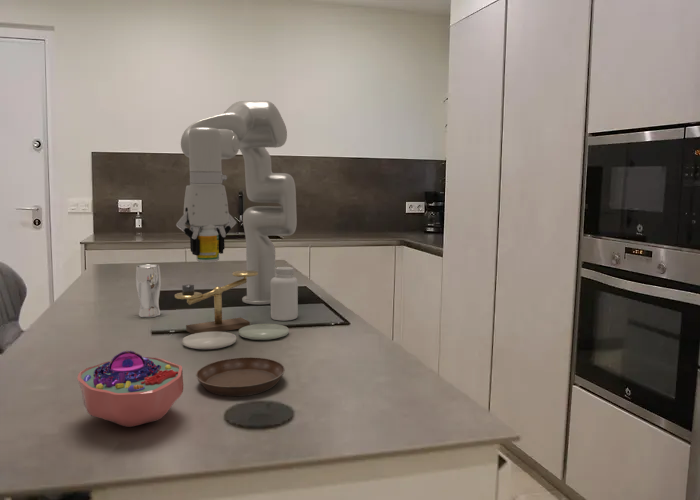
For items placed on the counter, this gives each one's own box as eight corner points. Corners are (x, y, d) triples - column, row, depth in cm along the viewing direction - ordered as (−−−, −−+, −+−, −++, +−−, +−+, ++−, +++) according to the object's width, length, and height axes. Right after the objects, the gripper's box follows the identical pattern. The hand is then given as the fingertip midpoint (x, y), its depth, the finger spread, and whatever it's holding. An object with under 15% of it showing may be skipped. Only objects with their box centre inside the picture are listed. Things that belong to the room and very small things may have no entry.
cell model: (84, 453, 91) (80, 381, 90) (76, 407, 109) (73, 347, 107) (196, 431, 99) (194, 365, 98) (171, 392, 117) (170, 335, 115)
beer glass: (154, 318, 175) (152, 268, 173) (132, 317, 176) (130, 267, 175) (166, 313, 182) (164, 264, 180) (145, 312, 183) (143, 263, 181)
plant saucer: (205, 406, 110) (204, 390, 110) (190, 376, 126) (189, 362, 126) (296, 393, 117) (296, 378, 117) (271, 366, 134) (271, 353, 133)
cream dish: (223, 334, 159) (223, 329, 159) (244, 345, 148) (244, 340, 148) (175, 341, 151) (175, 336, 151) (194, 354, 141) (193, 348, 141)
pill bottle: (302, 316, 179) (302, 267, 177) (289, 322, 172) (288, 270, 170) (280, 313, 182) (279, 265, 180) (265, 319, 175) (264, 268, 173)
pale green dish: (274, 326, 167) (274, 321, 167) (297, 336, 157) (297, 331, 157) (230, 333, 160) (230, 327, 160) (252, 344, 149) (252, 339, 149)
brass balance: (251, 320, 174) (251, 269, 172) (262, 325, 168) (262, 273, 166) (172, 332, 160) (170, 277, 159) (181, 338, 155) (179, 281, 153)
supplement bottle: (194, 260, 149) (193, 221, 147) (216, 259, 151) (215, 221, 150) (199, 263, 144) (198, 223, 142) (221, 261, 146) (220, 222, 145)
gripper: (232, 179, 153) (233, 249, 155) (165, 179, 143) (168, 254, 145) (245, 179, 147) (246, 253, 149) (176, 180, 137) (178, 258, 139)
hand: (207, 253), depth 147 cm, fingers closed on supplement bottle, 5 cm apart
